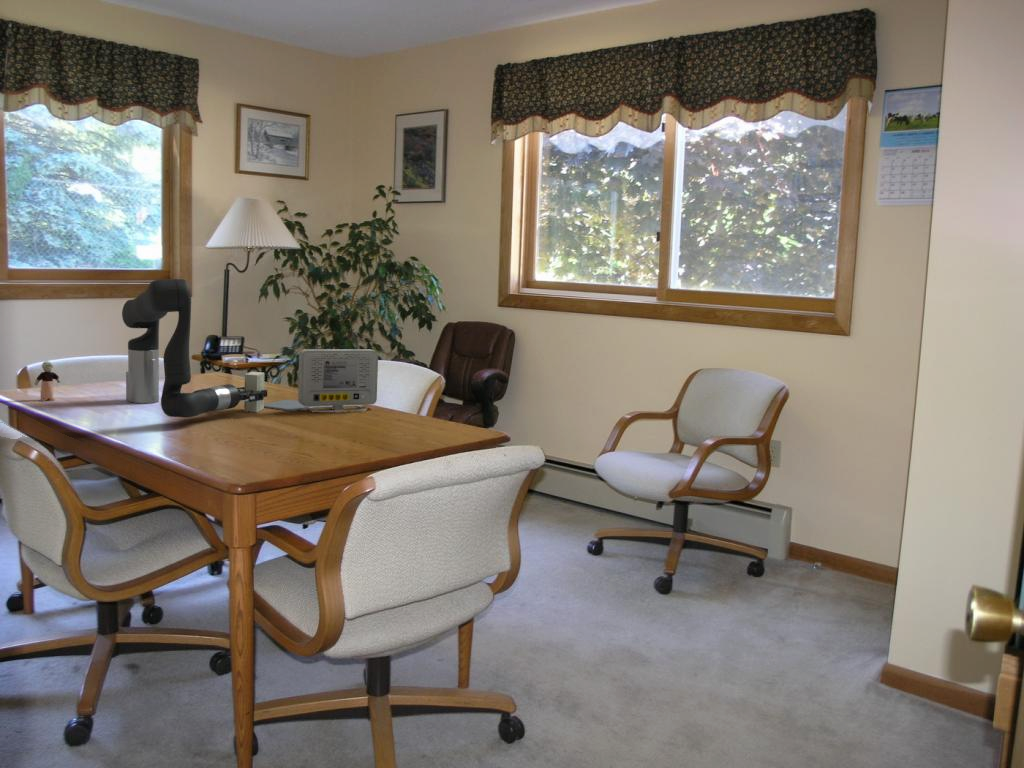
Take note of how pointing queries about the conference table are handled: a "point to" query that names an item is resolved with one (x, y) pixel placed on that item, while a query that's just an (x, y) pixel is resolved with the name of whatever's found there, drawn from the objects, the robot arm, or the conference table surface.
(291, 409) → the slate pad
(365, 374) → the network device
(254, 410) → the skincare box
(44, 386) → the grandmother figurine
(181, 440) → the conference table surface
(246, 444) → the conference table surface
